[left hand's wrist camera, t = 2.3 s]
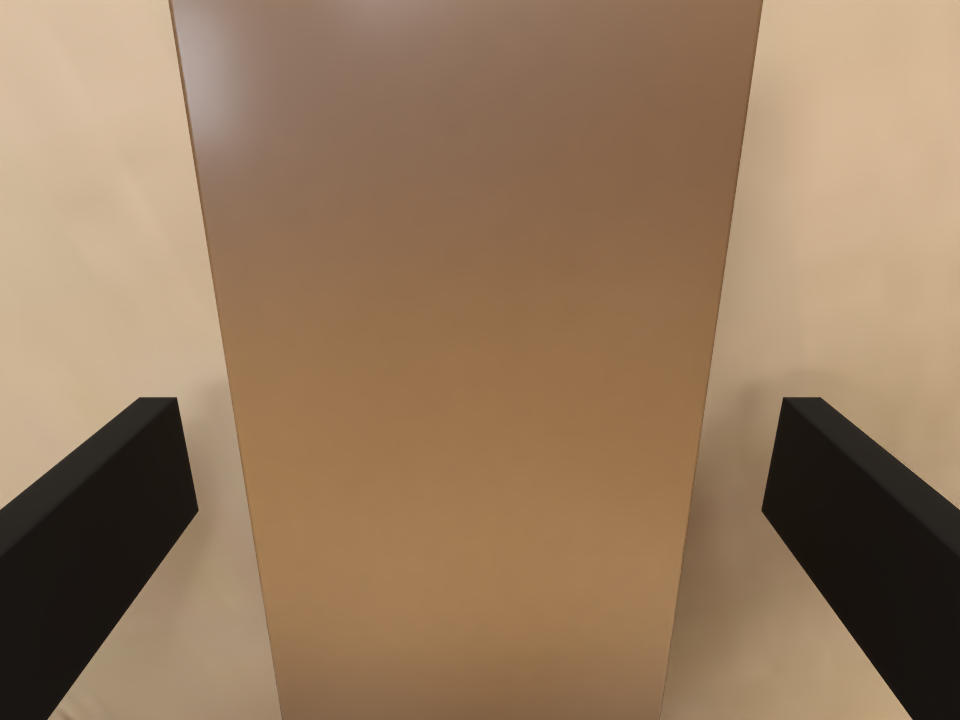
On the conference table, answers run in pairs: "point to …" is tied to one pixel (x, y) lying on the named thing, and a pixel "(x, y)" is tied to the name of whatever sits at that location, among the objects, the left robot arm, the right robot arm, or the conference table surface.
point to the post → (468, 333)
